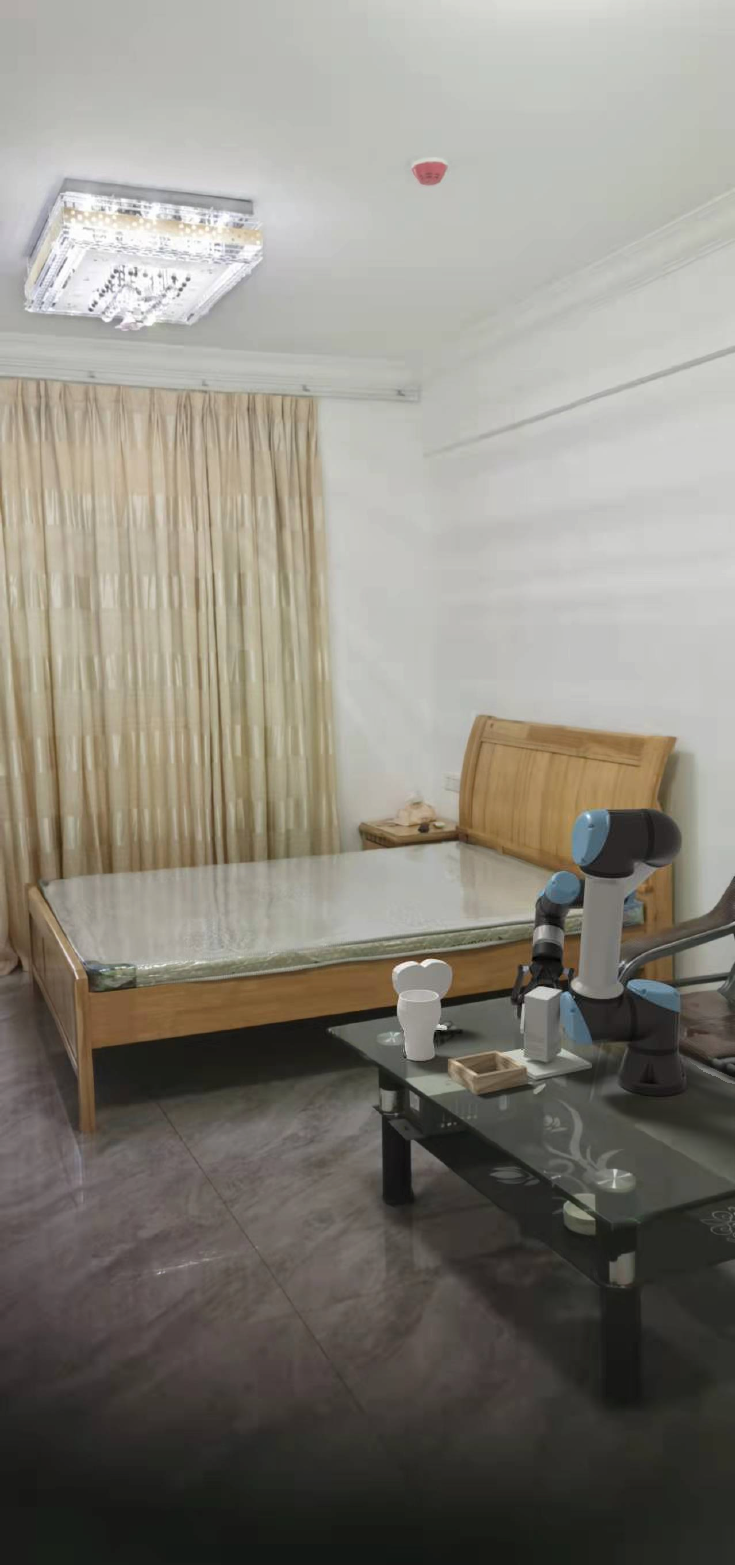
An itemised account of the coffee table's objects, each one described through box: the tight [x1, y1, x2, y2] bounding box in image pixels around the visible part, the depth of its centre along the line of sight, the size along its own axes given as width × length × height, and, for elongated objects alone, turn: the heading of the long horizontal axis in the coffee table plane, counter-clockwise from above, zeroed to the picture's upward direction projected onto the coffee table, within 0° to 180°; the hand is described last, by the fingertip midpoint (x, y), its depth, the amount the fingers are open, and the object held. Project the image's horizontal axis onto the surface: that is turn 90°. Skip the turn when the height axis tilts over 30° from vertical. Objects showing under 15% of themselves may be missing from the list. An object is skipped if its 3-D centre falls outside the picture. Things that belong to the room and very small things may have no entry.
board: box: [502, 1047, 593, 1081], centre depth 279 cm, size 16×16×1 cm
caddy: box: [447, 1049, 528, 1096], centre depth 268 cm, size 12×13×4 cm
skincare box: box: [523, 985, 562, 1062], centre depth 278 cm, size 8×7×16 cm
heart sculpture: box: [391, 958, 453, 1031], centre depth 302 cm, size 16×5×18 cm, turn 111°
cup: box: [396, 990, 442, 1062], centre depth 283 cm, size 11×11×15 cm
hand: (541, 1032), depth 275 cm, fingers closed on skincare box, 8 cm apart
